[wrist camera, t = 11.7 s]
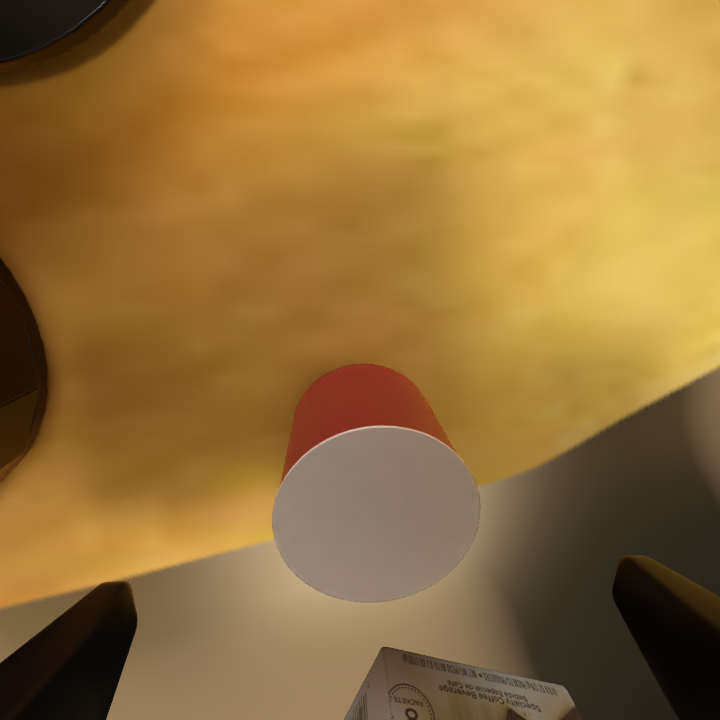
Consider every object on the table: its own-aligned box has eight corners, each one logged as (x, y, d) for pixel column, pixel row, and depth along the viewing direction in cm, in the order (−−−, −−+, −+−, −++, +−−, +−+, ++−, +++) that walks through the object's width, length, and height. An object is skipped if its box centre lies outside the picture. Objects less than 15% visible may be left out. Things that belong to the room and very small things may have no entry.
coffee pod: (287, 362, 12) (265, 430, 8) (436, 361, 13) (491, 424, 8) (293, 492, 14) (277, 608, 9) (427, 487, 14) (470, 597, 10)
